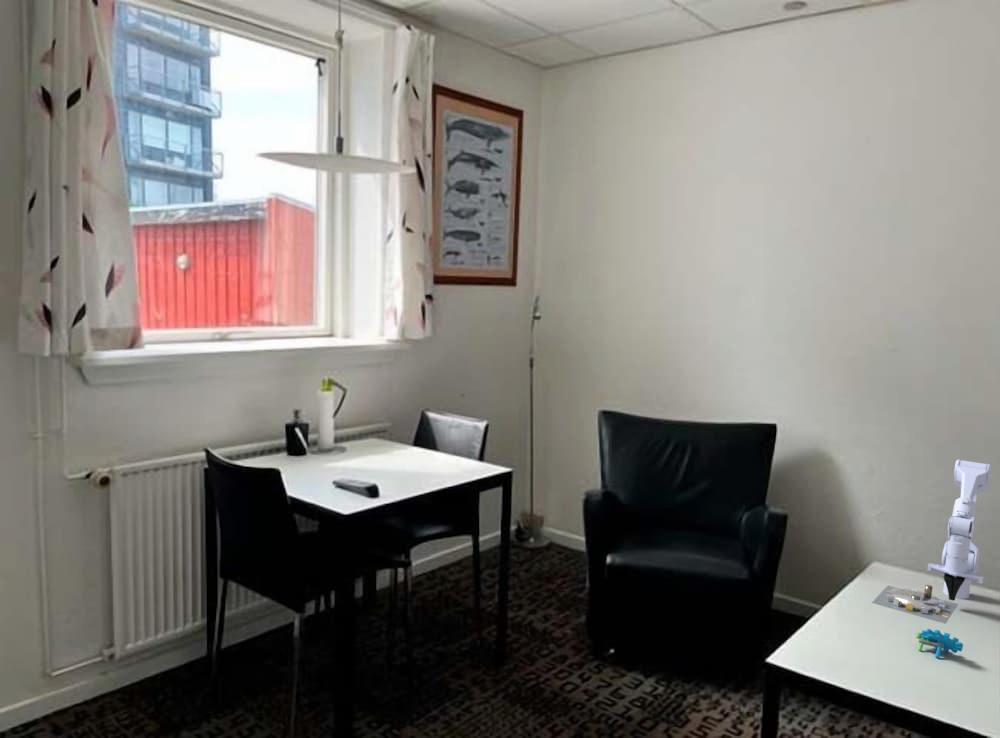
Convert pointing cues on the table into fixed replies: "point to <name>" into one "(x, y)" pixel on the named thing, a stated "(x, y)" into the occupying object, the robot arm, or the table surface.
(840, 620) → the table surface
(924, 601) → the sprocket
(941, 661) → the table surface
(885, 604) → the base plate
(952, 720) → the table surface
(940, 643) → the blue toy dinosaur
